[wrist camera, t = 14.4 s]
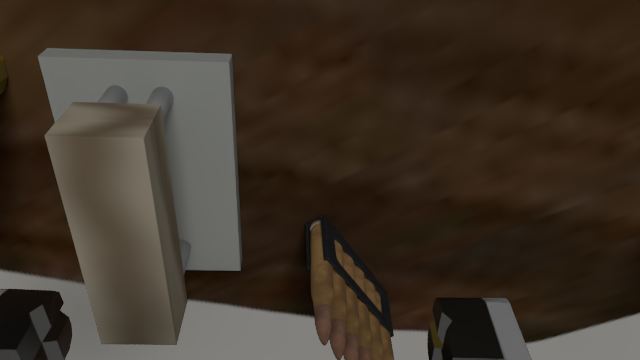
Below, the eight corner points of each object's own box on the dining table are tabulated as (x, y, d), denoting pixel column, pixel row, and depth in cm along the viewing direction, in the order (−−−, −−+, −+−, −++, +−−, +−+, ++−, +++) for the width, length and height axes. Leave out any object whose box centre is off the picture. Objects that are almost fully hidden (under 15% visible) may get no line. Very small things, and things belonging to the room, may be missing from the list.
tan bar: (160, 104, 31) (143, 138, 28) (187, 301, 40) (176, 344, 36) (72, 101, 31) (44, 135, 27) (118, 300, 40) (101, 344, 36)
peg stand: (231, 54, 36) (219, 91, 31) (242, 258, 46) (234, 312, 41) (47, 48, 35) (4, 85, 30) (98, 256, 45) (72, 309, 40)
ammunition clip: (304, 223, 44) (303, 342, 34) (323, 213, 43) (328, 330, 33) (369, 300, 49) (386, 423, 39) (387, 292, 48) (409, 415, 38)
